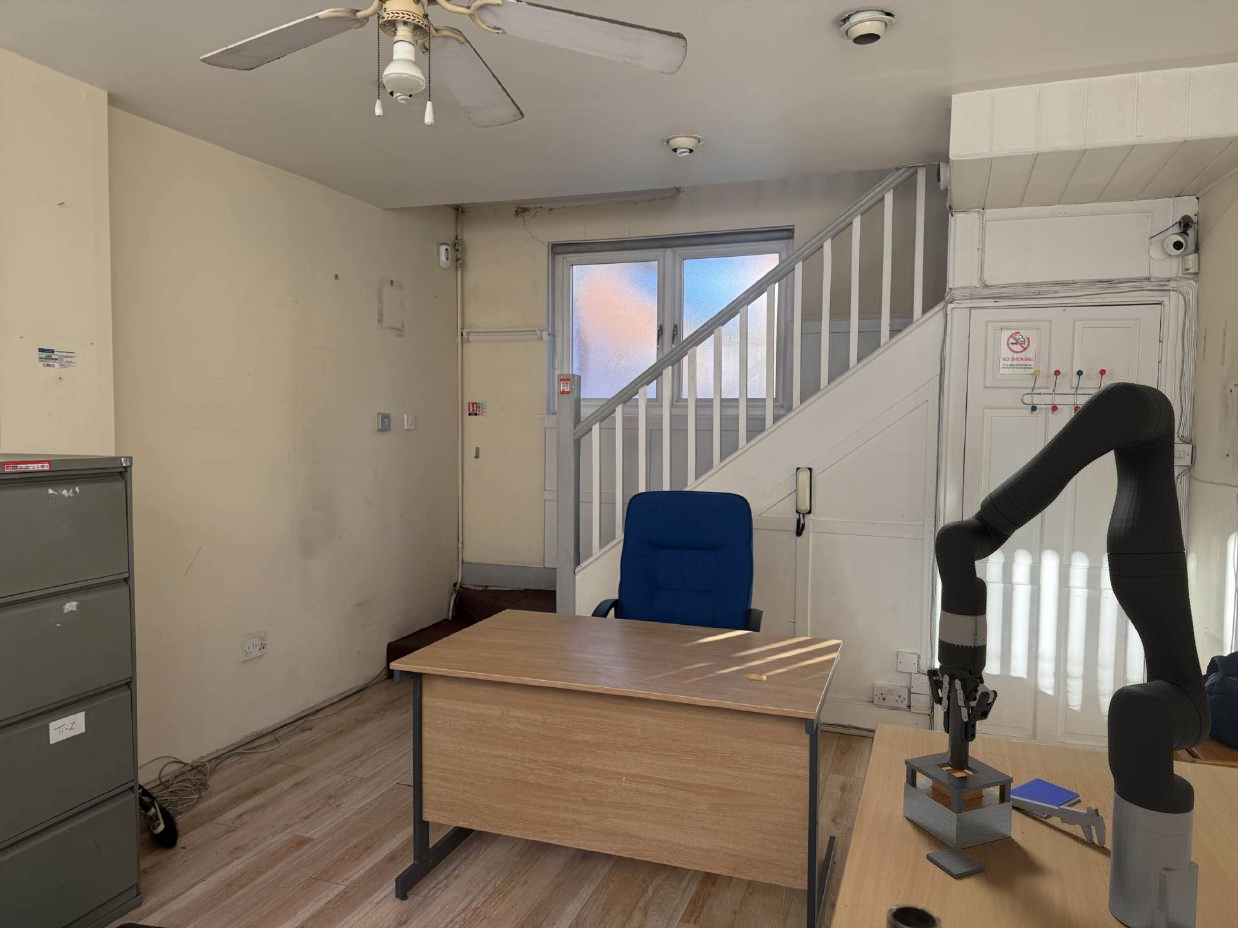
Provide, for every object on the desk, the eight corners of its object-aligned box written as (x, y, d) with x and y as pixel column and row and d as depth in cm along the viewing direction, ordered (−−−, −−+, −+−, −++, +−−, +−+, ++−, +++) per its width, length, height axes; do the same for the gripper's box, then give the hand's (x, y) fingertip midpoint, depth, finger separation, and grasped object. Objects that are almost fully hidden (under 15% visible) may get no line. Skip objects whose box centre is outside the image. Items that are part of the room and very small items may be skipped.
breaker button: (981, 808, 133) (982, 780, 133) (956, 814, 131) (957, 786, 131) (956, 793, 138) (957, 767, 138) (931, 799, 136) (932, 772, 136)
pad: (985, 869, 121) (985, 866, 121) (955, 877, 119) (955, 874, 119) (955, 849, 127) (955, 846, 127) (926, 857, 125) (926, 853, 125)
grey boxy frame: (1010, 836, 131) (1013, 777, 131) (955, 849, 127) (957, 789, 126) (956, 803, 143) (957, 749, 142) (903, 815, 138) (904, 759, 138)
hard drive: (1043, 811, 138) (1079, 793, 144) (999, 793, 144) (1035, 776, 151) (1043, 820, 138) (1079, 802, 145) (999, 801, 145) (1035, 784, 151)
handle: (972, 768, 133) (975, 681, 132) (957, 771, 132) (960, 684, 131) (958, 760, 136) (961, 675, 135) (943, 763, 135) (946, 678, 134)
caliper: (1105, 848, 128) (1106, 810, 128) (1101, 850, 128) (1103, 812, 128) (990, 796, 146) (992, 763, 146) (987, 797, 145) (988, 764, 145)
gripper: (1013, 646, 128) (1009, 750, 129) (948, 624, 141) (945, 719, 142) (978, 651, 125) (974, 757, 126) (915, 628, 138) (911, 724, 139)
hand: (958, 736), depth 134 cm, fingers closed on handle, 3 cm apart
